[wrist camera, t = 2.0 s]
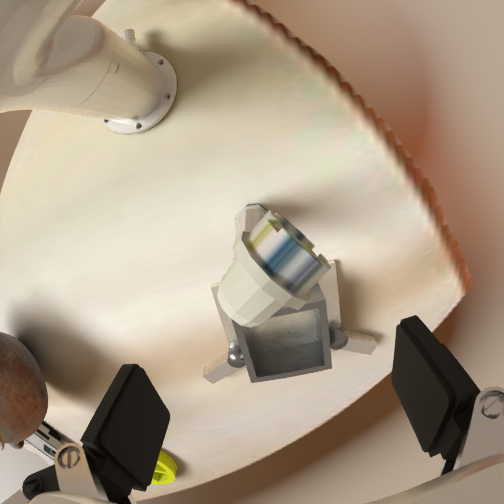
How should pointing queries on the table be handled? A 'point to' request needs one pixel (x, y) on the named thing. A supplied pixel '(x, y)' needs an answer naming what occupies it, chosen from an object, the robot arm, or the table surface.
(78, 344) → the table surface
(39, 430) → the game console
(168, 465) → the pulley
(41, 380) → the clay pot
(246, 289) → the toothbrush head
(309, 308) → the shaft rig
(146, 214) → the table surface
